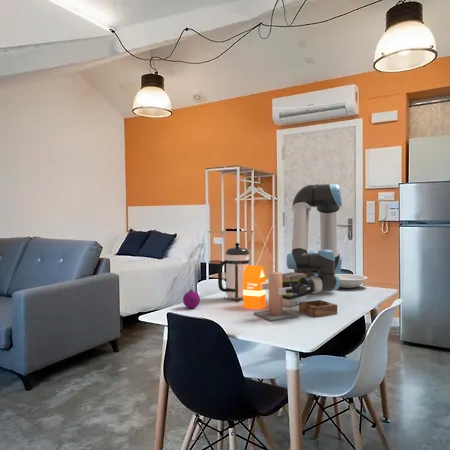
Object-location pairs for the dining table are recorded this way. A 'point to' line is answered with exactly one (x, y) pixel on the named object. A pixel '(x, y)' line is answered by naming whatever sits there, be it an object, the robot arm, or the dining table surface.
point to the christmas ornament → (191, 299)
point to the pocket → (318, 308)
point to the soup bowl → (350, 280)
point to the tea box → (292, 298)
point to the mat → (275, 318)
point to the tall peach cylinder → (275, 293)
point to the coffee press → (234, 271)
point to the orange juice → (254, 287)
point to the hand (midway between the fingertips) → (270, 289)
